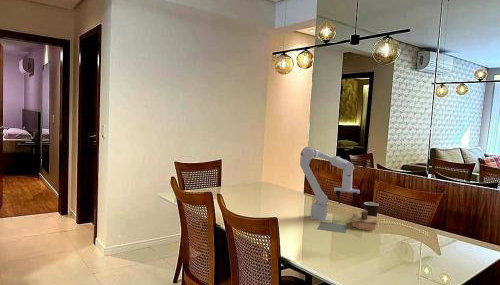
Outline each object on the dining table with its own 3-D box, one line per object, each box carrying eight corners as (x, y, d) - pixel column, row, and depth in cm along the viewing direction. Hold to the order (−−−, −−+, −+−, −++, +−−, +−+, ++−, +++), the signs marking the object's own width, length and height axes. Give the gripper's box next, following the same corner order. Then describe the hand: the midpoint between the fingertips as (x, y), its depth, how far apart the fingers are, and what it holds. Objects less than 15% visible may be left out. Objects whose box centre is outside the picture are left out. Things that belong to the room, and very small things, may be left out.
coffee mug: (379, 222, 209) (380, 206, 209) (363, 221, 211) (364, 205, 210) (376, 217, 221) (377, 201, 220) (361, 216, 222) (362, 200, 222)
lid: (351, 221, 197) (351, 212, 196) (353, 215, 209) (353, 207, 208) (376, 224, 192) (376, 215, 192) (376, 218, 204) (377, 209, 204)
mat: (316, 230, 192) (316, 229, 192) (321, 222, 207) (321, 221, 206) (345, 234, 187) (345, 233, 187) (347, 226, 201) (347, 225, 201)
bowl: (351, 228, 197) (352, 221, 197) (353, 222, 209) (353, 215, 208) (375, 231, 193) (375, 224, 193) (375, 225, 205) (375, 218, 204)
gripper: (334, 181, 211) (332, 204, 212) (359, 184, 206) (358, 207, 207) (335, 179, 218) (334, 201, 219) (360, 182, 213) (359, 204, 214)
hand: (346, 204), depth 213 cm, fingers open, 7 cm apart
